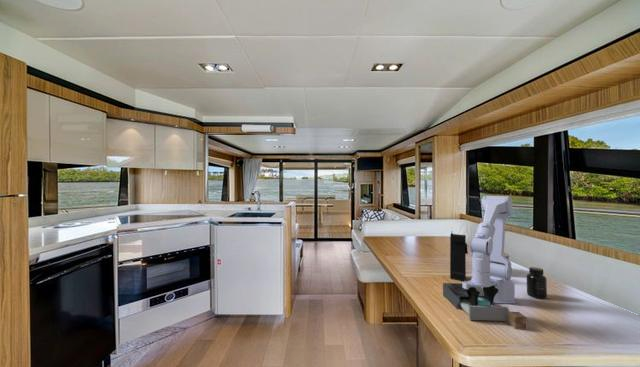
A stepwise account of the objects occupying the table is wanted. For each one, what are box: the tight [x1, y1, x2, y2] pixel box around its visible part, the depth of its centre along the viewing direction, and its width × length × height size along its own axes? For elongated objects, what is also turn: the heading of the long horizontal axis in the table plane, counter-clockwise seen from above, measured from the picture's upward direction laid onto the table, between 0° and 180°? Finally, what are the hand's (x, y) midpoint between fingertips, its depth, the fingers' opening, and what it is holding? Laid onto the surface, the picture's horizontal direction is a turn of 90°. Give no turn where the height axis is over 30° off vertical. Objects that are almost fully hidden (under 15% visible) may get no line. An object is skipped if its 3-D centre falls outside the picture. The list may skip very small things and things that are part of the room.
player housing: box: [442, 282, 495, 310], centre depth 109 cm, size 14×13×5 cm
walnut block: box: [507, 311, 527, 330], centre depth 90 cm, size 4×4×4 cm
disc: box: [477, 297, 490, 306], centre depth 98 cm, size 6×6×2 cm
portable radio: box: [449, 232, 469, 282], centre depth 137 cm, size 8×6×25 cm
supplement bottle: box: [526, 266, 548, 300], centre depth 115 cm, size 7×7×12 cm
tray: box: [459, 299, 509, 322], centre depth 99 cm, size 13×13×5 cm
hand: (480, 306), depth 98 cm, fingers closed on disc, 6 cm apart
